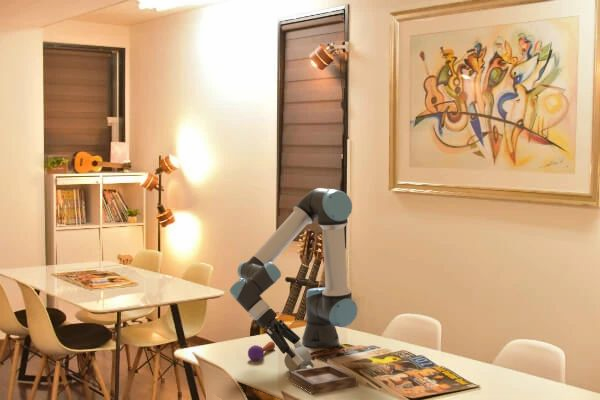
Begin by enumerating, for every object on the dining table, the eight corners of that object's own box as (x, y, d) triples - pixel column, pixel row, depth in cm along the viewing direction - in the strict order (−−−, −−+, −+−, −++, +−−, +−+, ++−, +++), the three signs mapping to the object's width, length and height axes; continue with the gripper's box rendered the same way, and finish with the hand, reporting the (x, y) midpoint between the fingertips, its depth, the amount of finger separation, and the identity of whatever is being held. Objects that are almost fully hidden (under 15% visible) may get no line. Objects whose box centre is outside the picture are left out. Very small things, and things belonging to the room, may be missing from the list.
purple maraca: (279, 340, 332) (261, 349, 313) (276, 354, 332) (258, 364, 313) (265, 336, 333) (247, 345, 314) (262, 350, 334) (244, 360, 315)
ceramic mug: (282, 370, 303) (283, 349, 303) (294, 364, 310) (294, 344, 310) (307, 375, 298) (308, 354, 297) (318, 369, 305) (319, 349, 304)
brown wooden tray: (331, 372, 301) (331, 363, 300) (357, 386, 285) (357, 377, 285) (287, 379, 292) (287, 371, 292) (312, 394, 276) (312, 385, 276)
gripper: (265, 314, 318) (305, 358, 315) (246, 327, 298) (288, 374, 294) (278, 301, 316) (319, 345, 313) (260, 313, 296) (303, 361, 293)
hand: (304, 359), depth 304 cm, fingers closed on ceramic mug, 9 cm apart
